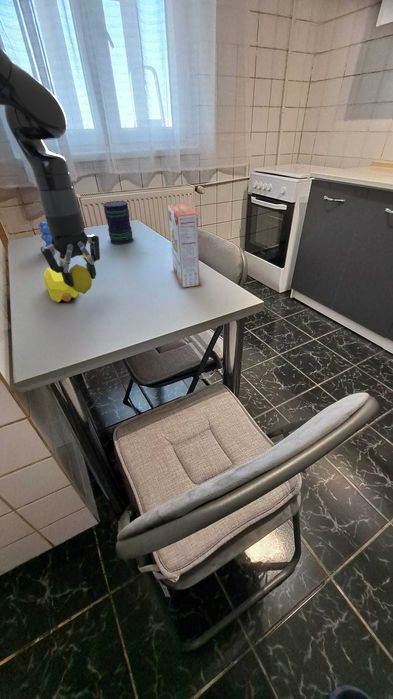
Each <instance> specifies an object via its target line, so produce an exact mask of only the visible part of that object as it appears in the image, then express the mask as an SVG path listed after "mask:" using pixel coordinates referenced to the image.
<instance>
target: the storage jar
mask: <svg viewBox="0 0 393 699" xmlns="http://www.w3.org/2000/svg"><path fill="white" fill-rule="evenodd" d="M128 204H129V203H128V202H127V201H123V200H114V201H107V202H104V203H103V209H104V214H105V215H104V216H105V219H106V223H107V230H108V236H109V239H110V243H111V244H113V245H125V244H130V243H132V242H133V241H134V238H133V228H132V226H131V221H130V220H131V219H130V217H131V216H130V209H129V206H128Z"/></svg>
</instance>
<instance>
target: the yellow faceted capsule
mask: <svg viewBox="0 0 393 699" xmlns="http://www.w3.org/2000/svg"><path fill="white" fill-rule="evenodd" d="M43 279H44V280H43V281H44V286H45V287H46V290H47V292H48V294H49V298H50V299H51V300H53V301H54V302H56V303H60V302H61V301H64V302H70V301H71V299H76V298H77V296H78V295H79V294H80V292H77V291H75V290H74V289H73V288H72V287H70V286H68V285H67V284H65V283H64V280H63V277H62V274H61V273H57V272H55V271H53V270H51V268H50V267H47V268H46V269H45V270H44V272H43Z"/></svg>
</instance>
